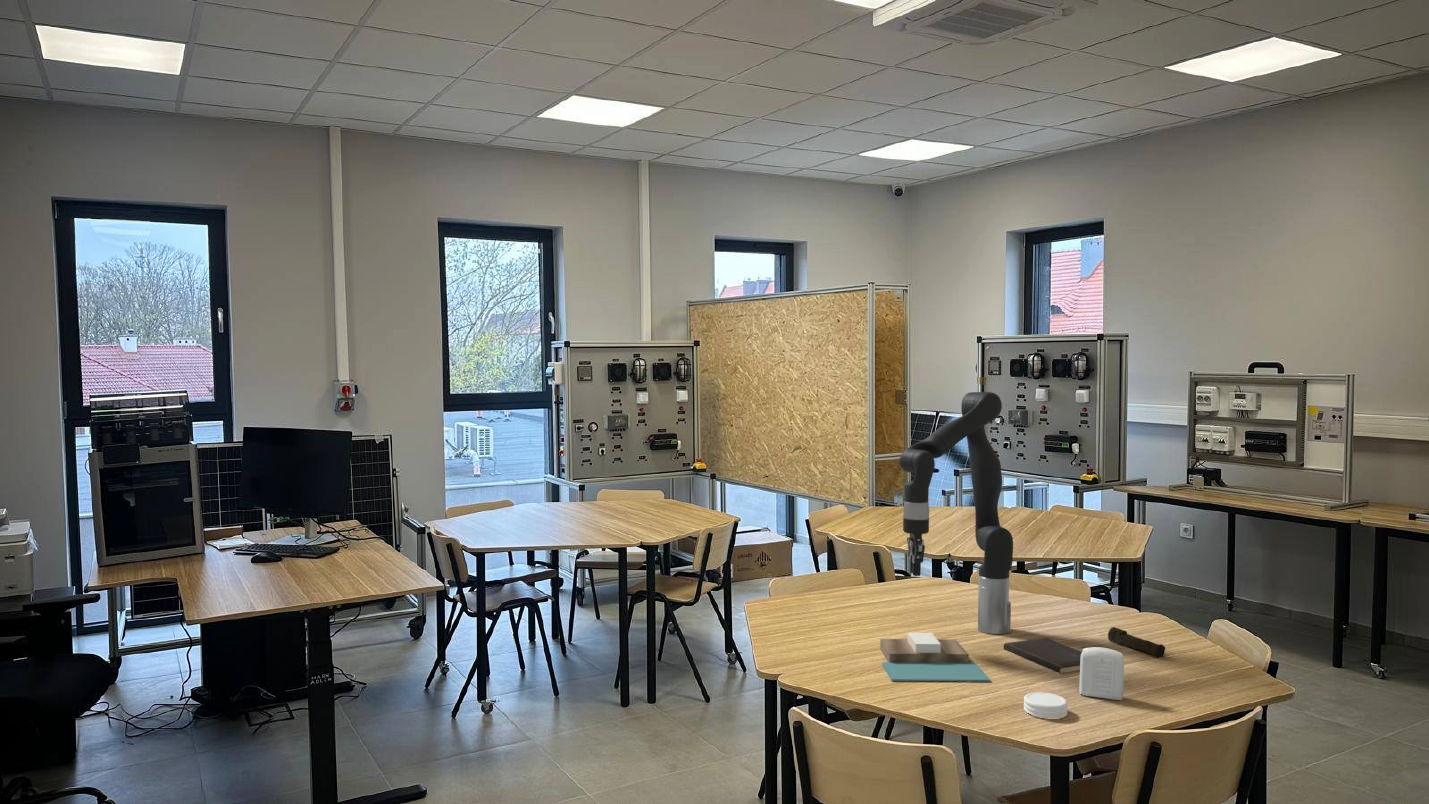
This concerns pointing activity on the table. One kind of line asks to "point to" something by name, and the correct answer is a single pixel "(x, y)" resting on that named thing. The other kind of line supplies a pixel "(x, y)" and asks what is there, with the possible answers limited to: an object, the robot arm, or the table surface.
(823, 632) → the table surface
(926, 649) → the white flat block
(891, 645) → the deck
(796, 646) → the table surface
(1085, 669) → the white upright block
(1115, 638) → the hand tool
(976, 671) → the mat
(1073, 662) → the hardcover book
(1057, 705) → the white disc stack
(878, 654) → the table surface
